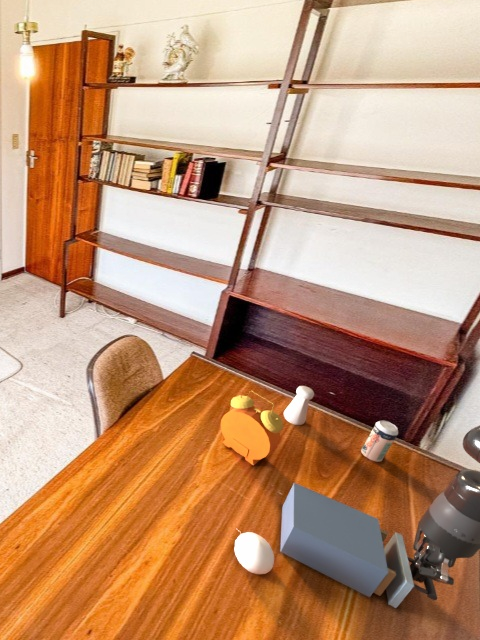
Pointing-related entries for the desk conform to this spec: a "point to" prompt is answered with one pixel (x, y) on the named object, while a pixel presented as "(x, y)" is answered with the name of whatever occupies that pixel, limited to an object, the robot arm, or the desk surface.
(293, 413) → the salt shaker
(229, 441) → the alarm clock
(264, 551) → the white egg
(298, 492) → the cabinet
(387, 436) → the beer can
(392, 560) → the drawer
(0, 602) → the desk surface
